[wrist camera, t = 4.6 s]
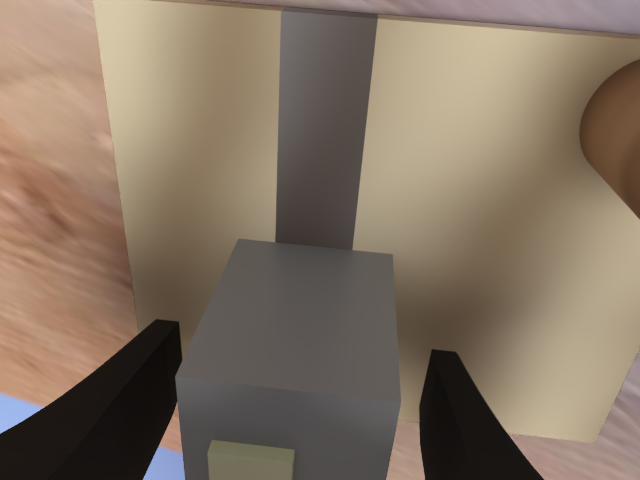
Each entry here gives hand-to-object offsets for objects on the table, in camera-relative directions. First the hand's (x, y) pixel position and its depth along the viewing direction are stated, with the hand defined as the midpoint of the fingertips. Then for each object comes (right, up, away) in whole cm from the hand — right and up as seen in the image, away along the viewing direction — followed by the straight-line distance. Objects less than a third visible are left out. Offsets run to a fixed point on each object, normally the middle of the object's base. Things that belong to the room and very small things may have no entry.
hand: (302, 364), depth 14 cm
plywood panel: (+2, +3, +1) cm, 4 cm away
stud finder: (0, +1, +1) cm, 1 cm away
